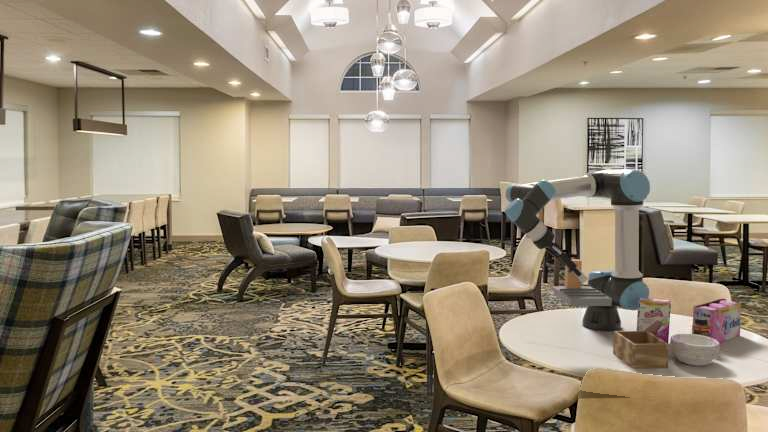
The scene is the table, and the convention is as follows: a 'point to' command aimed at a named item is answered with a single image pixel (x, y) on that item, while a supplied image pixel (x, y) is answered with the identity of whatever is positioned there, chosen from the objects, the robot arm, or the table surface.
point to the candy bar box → (654, 317)
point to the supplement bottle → (701, 327)
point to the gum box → (720, 318)
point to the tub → (640, 349)
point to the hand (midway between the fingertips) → (583, 280)
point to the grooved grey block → (579, 291)
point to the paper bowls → (694, 348)
